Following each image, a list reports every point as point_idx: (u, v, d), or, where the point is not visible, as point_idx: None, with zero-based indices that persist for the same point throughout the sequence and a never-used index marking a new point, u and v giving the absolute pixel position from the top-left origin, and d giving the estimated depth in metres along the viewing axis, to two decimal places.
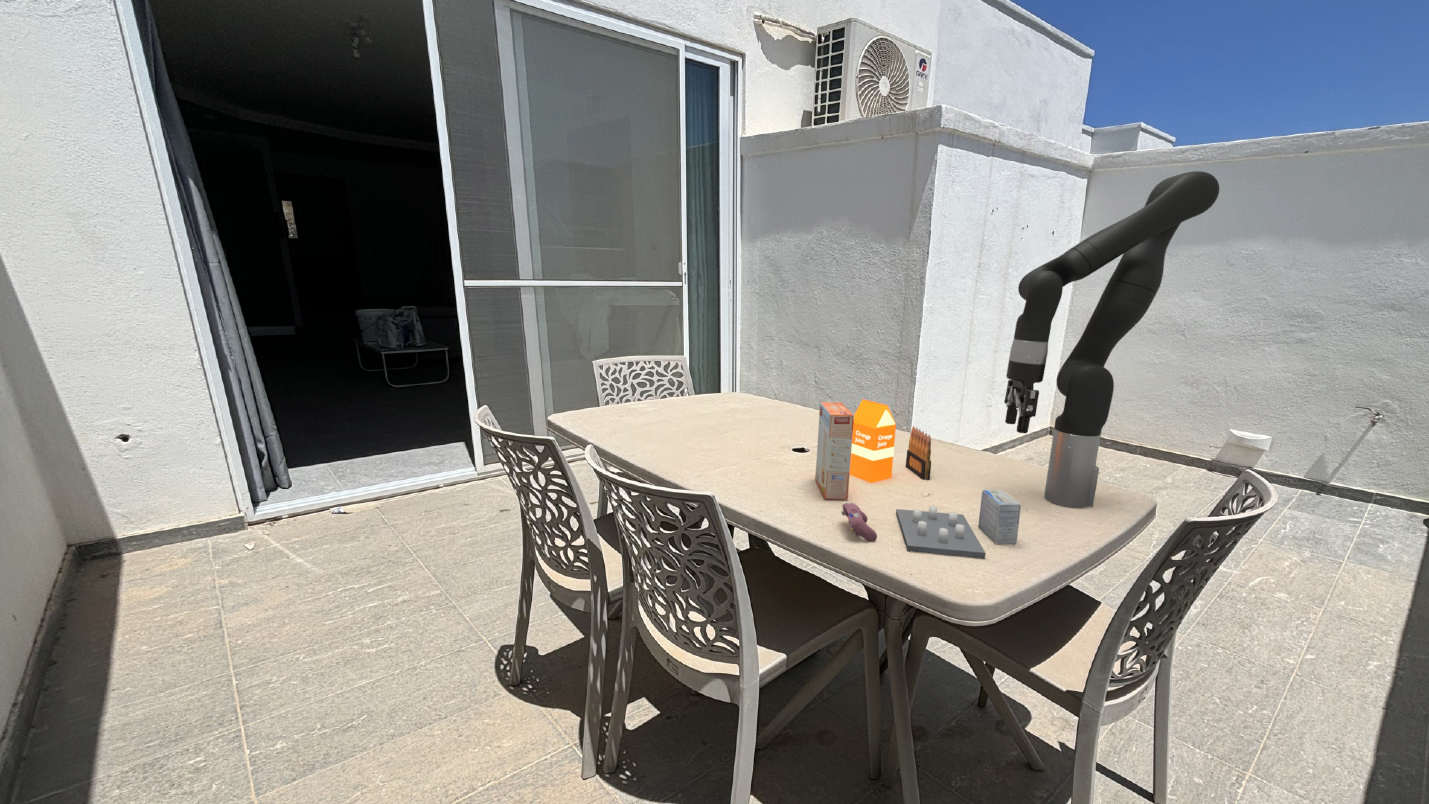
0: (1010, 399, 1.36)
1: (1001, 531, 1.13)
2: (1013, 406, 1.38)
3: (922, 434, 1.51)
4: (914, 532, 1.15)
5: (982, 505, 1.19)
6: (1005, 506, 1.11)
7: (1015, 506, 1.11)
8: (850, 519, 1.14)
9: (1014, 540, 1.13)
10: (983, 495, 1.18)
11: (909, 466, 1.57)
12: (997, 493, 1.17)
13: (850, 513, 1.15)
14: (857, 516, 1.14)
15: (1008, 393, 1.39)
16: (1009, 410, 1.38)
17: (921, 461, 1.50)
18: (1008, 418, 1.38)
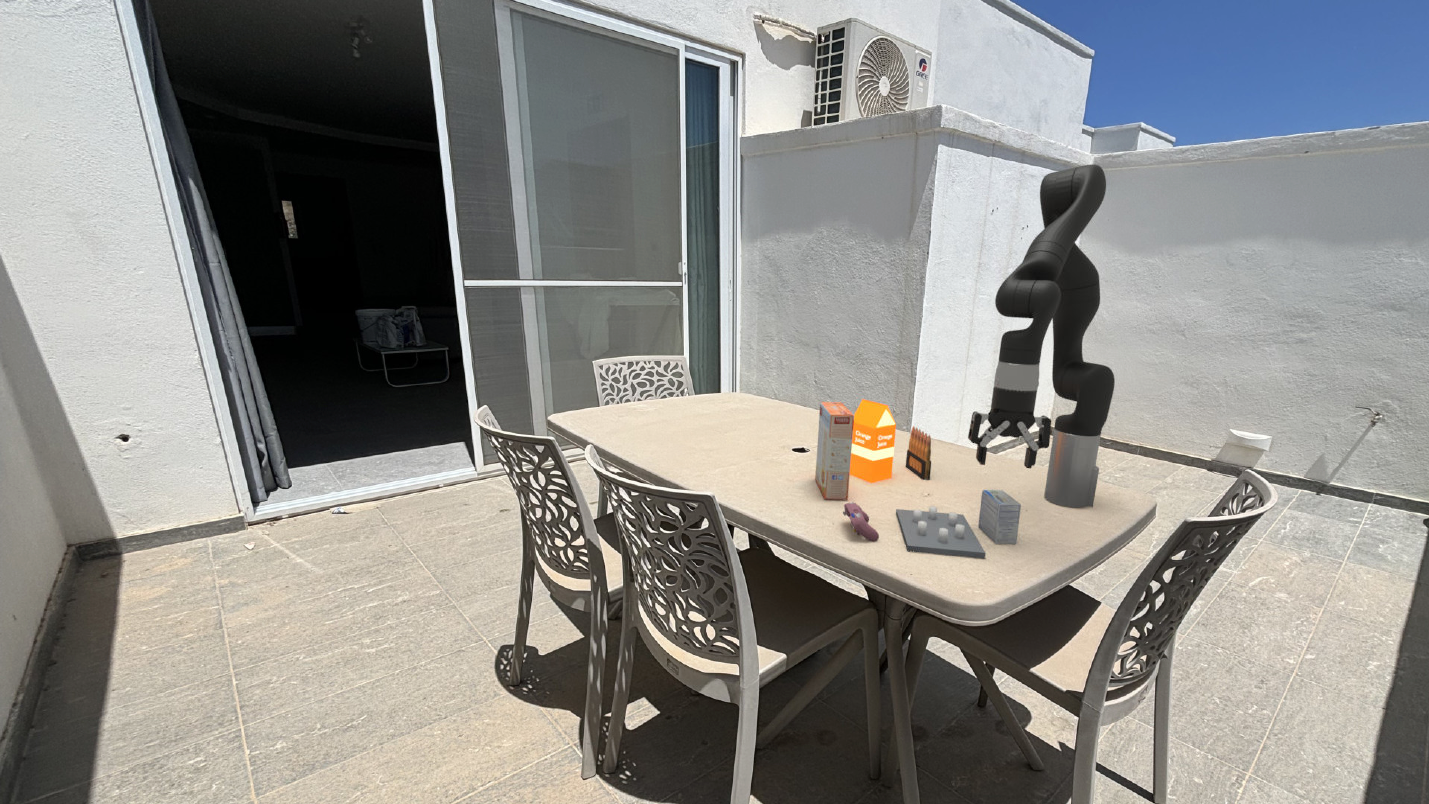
0: None
1: (1001, 531, 1.13)
2: None
3: (922, 434, 1.51)
4: (914, 532, 1.15)
5: (982, 505, 1.19)
6: (1005, 506, 1.11)
7: (1015, 506, 1.11)
8: (852, 519, 1.14)
9: (1014, 540, 1.13)
10: (983, 495, 1.18)
11: (909, 466, 1.57)
12: (997, 493, 1.17)
13: (852, 513, 1.15)
14: (859, 516, 1.14)
15: None
16: None
17: (921, 461, 1.50)
18: None
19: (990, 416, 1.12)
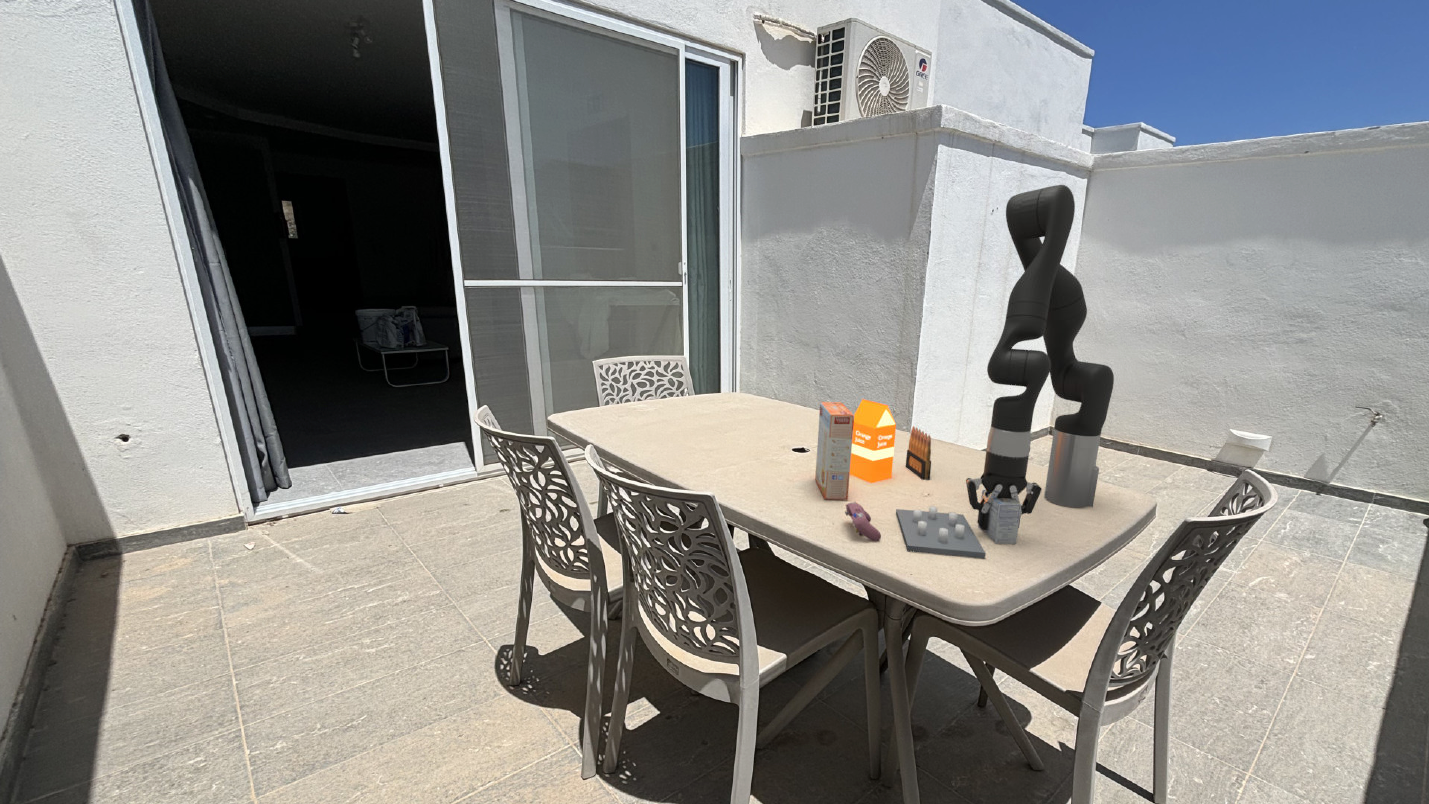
0: None
1: (1001, 531, 1.13)
2: None
3: (922, 434, 1.51)
4: (914, 532, 1.15)
5: None
6: (1005, 505, 1.11)
7: (1015, 506, 1.11)
8: (854, 519, 1.14)
9: (1014, 540, 1.13)
10: None
11: (909, 466, 1.57)
12: None
13: (854, 513, 1.15)
14: (861, 516, 1.14)
15: (976, 496, 1.15)
16: None
17: (921, 461, 1.50)
18: None
19: (983, 480, 1.14)
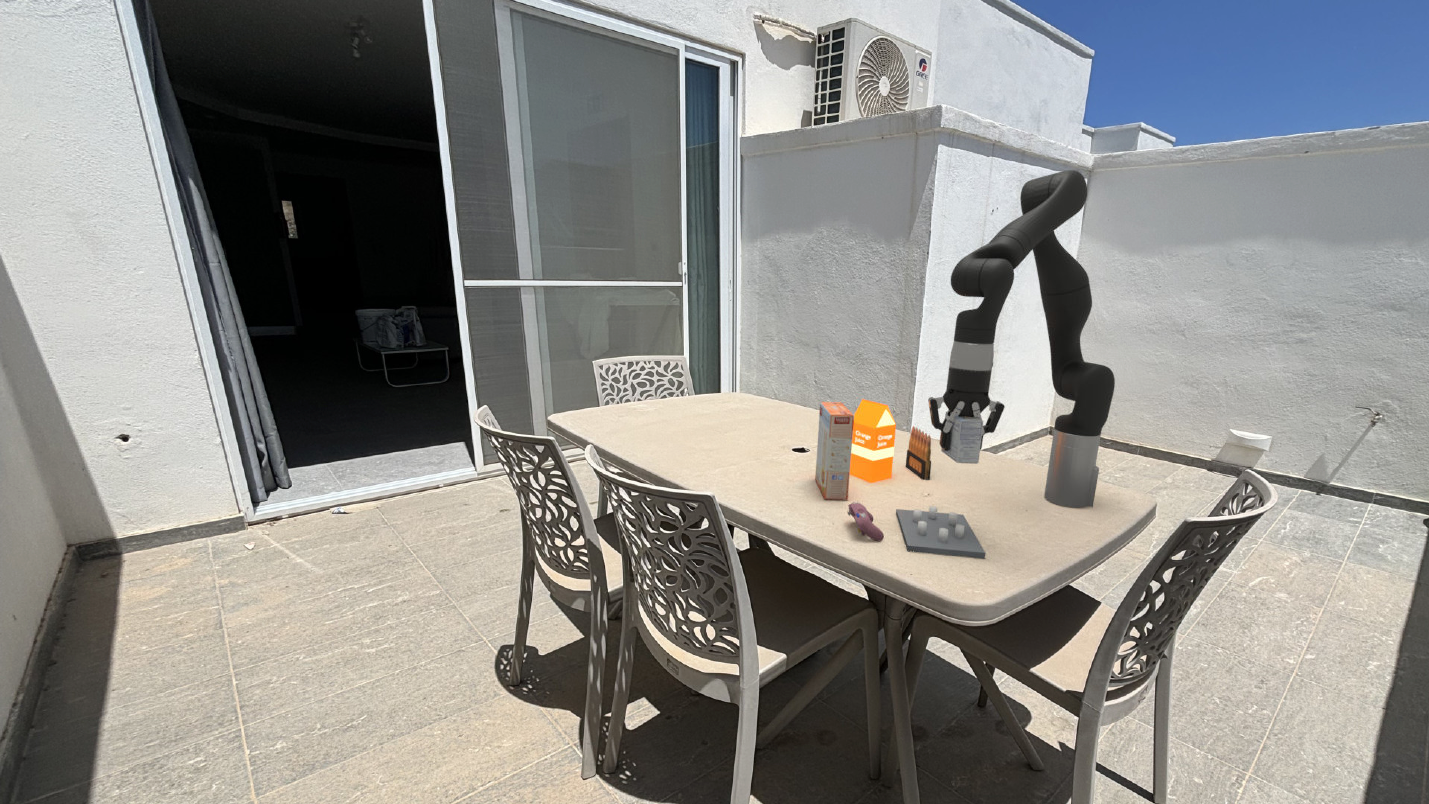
0: None
1: (962, 449, 1.09)
2: None
3: (922, 434, 1.51)
4: (914, 532, 1.15)
5: None
6: (967, 422, 1.08)
7: (978, 423, 1.08)
8: (857, 519, 1.14)
9: (976, 459, 1.09)
10: None
11: (909, 466, 1.57)
12: None
13: (857, 513, 1.15)
14: (864, 516, 1.14)
15: (938, 414, 1.11)
16: None
17: (921, 461, 1.50)
18: None
19: (945, 398, 1.11)
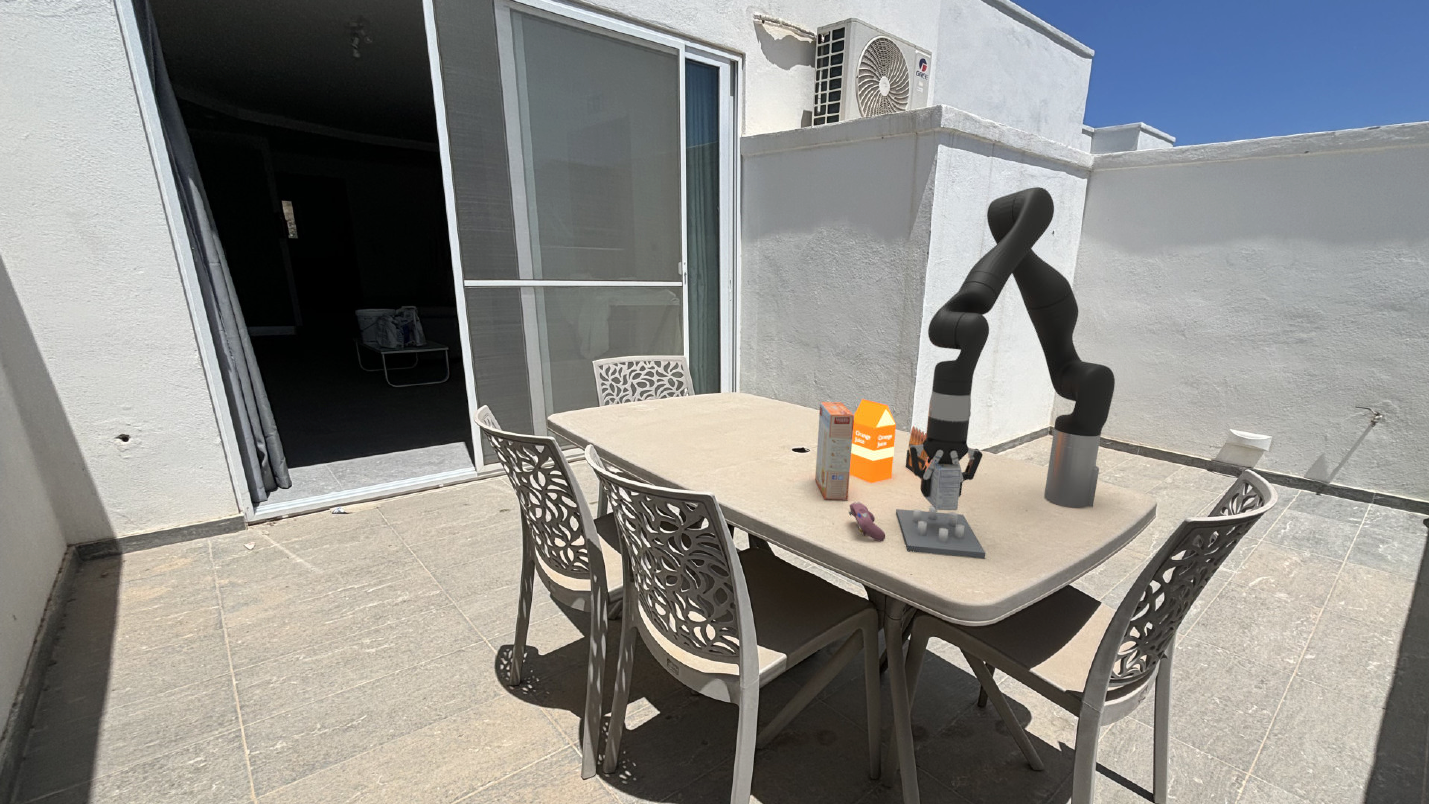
0: None
1: (941, 496, 1.11)
2: None
3: (922, 434, 1.51)
4: (914, 532, 1.15)
5: None
6: (945, 470, 1.10)
7: (956, 471, 1.10)
8: (858, 519, 1.14)
9: (955, 506, 1.12)
10: None
11: (909, 466, 1.57)
12: None
13: (858, 513, 1.15)
14: (865, 516, 1.14)
15: (918, 462, 1.14)
16: None
17: (921, 461, 1.50)
18: (928, 490, 1.15)
19: (924, 446, 1.13)
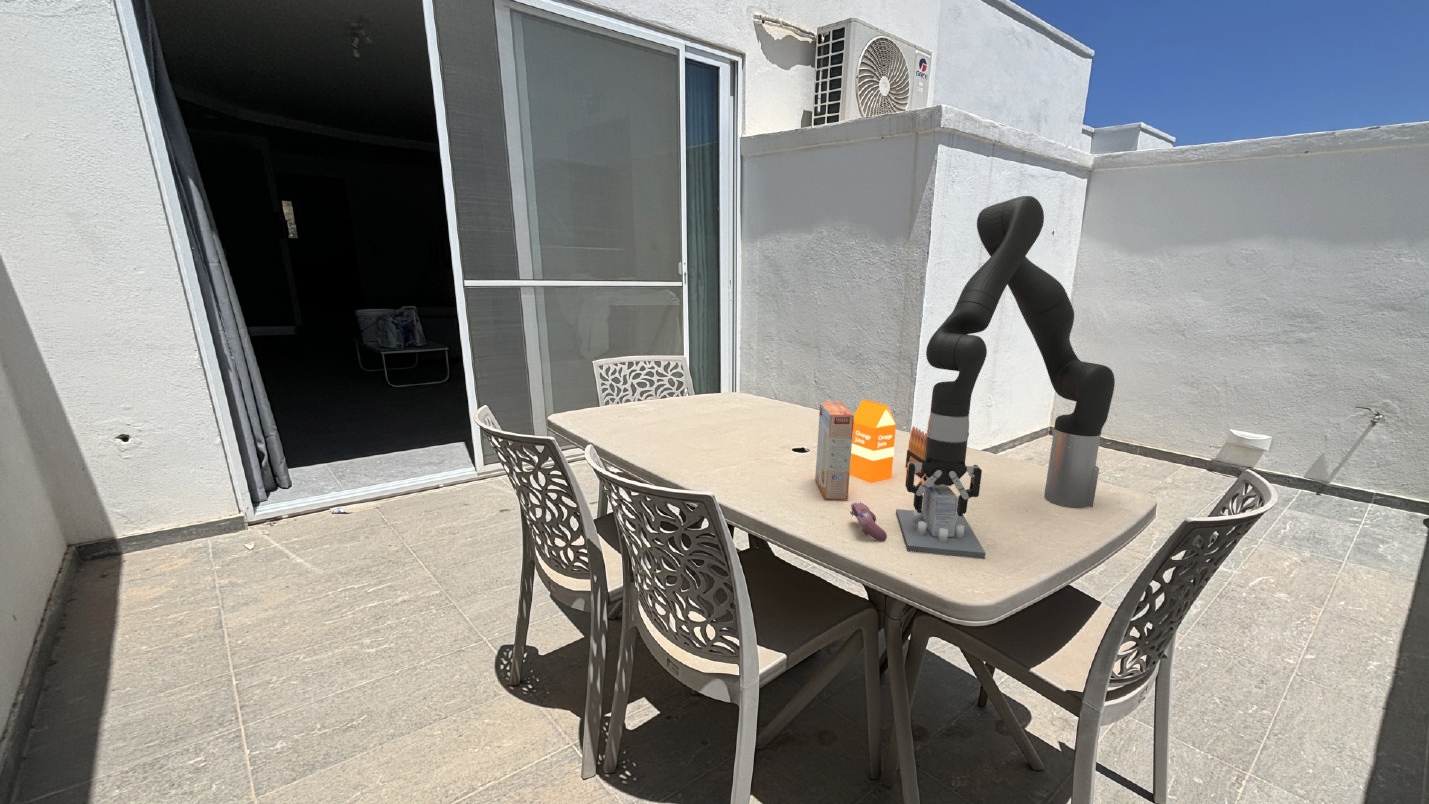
0: None
1: (938, 523, 1.13)
2: None
3: (922, 434, 1.51)
4: (914, 532, 1.15)
5: (924, 498, 1.19)
6: (941, 498, 1.11)
7: (952, 499, 1.11)
8: (860, 519, 1.14)
9: (952, 533, 1.13)
10: None
11: None
12: (938, 486, 1.17)
13: (860, 513, 1.15)
14: (867, 516, 1.14)
15: None
16: None
17: (921, 461, 1.50)
18: (921, 506, 1.16)
19: (923, 465, 1.14)
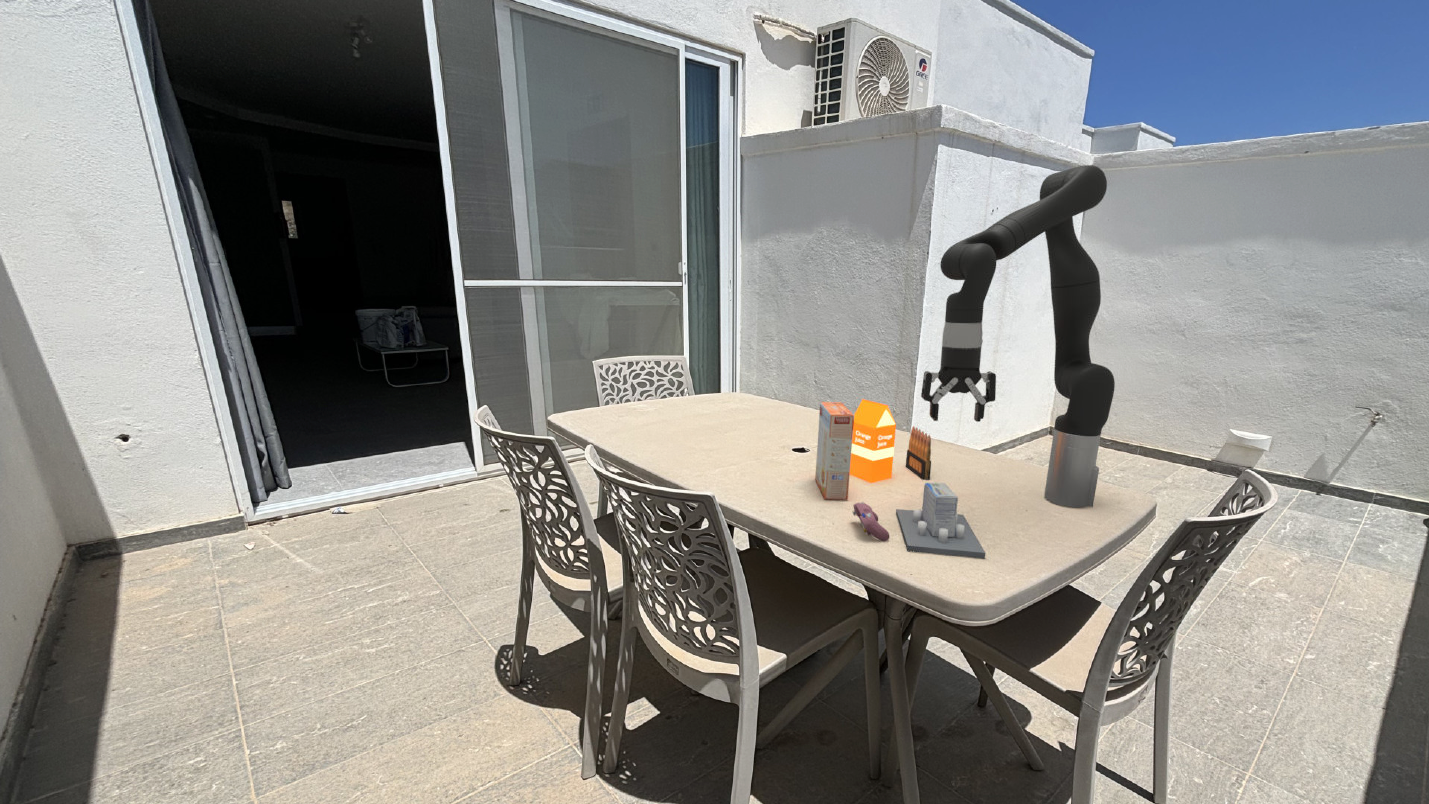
0: None
1: (938, 523, 1.13)
2: None
3: (922, 434, 1.51)
4: (914, 532, 1.15)
5: (924, 498, 1.19)
6: (941, 498, 1.11)
7: (952, 499, 1.11)
8: (863, 519, 1.14)
9: (952, 533, 1.13)
10: (925, 487, 1.18)
11: (909, 466, 1.57)
12: (938, 486, 1.17)
13: (862, 513, 1.15)
14: (870, 516, 1.14)
15: (930, 388, 1.20)
16: None
17: (921, 461, 1.50)
18: None
19: (940, 374, 1.19)
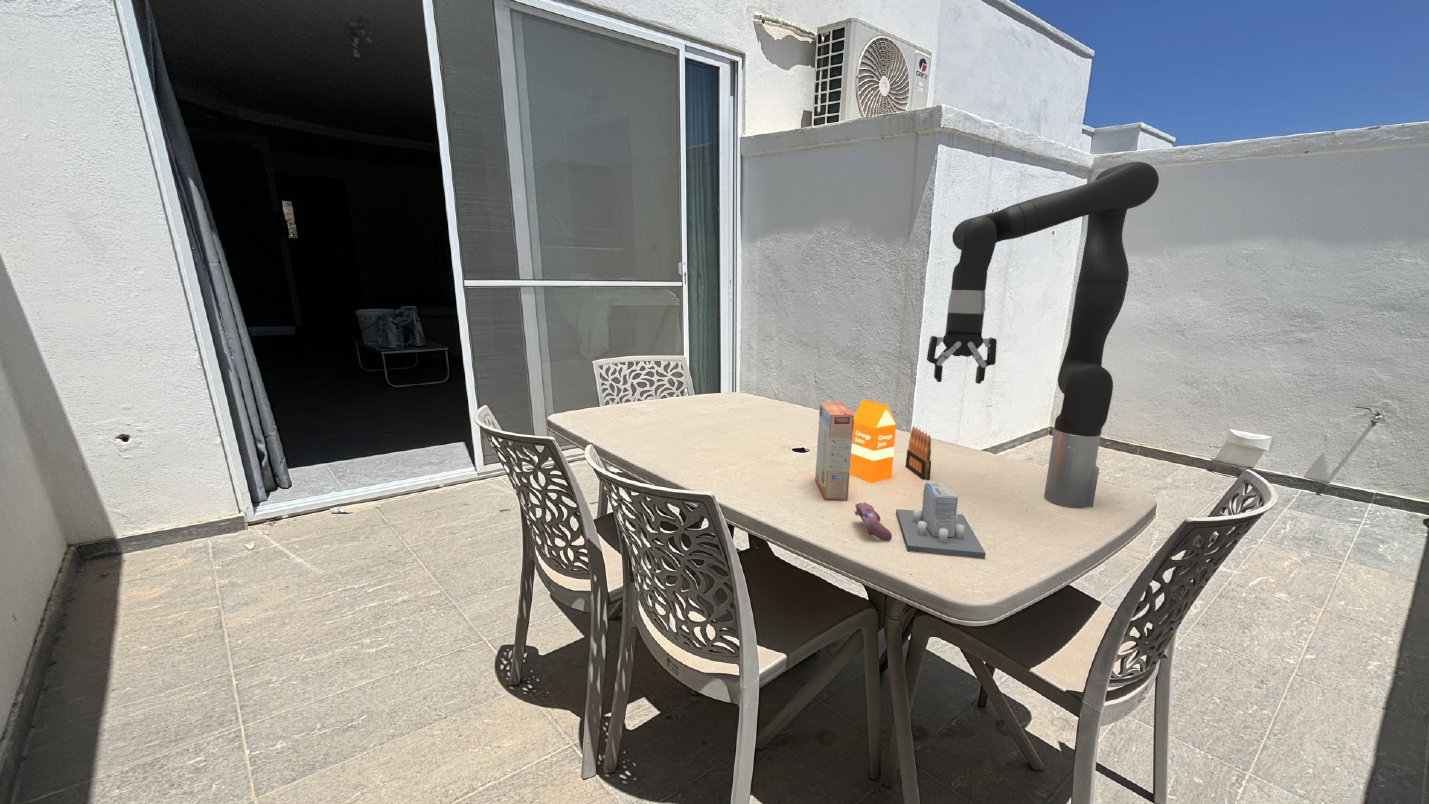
0: None
1: (938, 523, 1.13)
2: None
3: (922, 434, 1.51)
4: (914, 532, 1.15)
5: (924, 498, 1.19)
6: (941, 498, 1.11)
7: (952, 499, 1.11)
8: (865, 519, 1.14)
9: (952, 533, 1.13)
10: (925, 487, 1.18)
11: (909, 466, 1.57)
12: (938, 486, 1.17)
13: (865, 513, 1.15)
14: (872, 516, 1.14)
15: (935, 351, 1.30)
16: None
17: (921, 461, 1.50)
18: None
19: (944, 338, 1.29)
